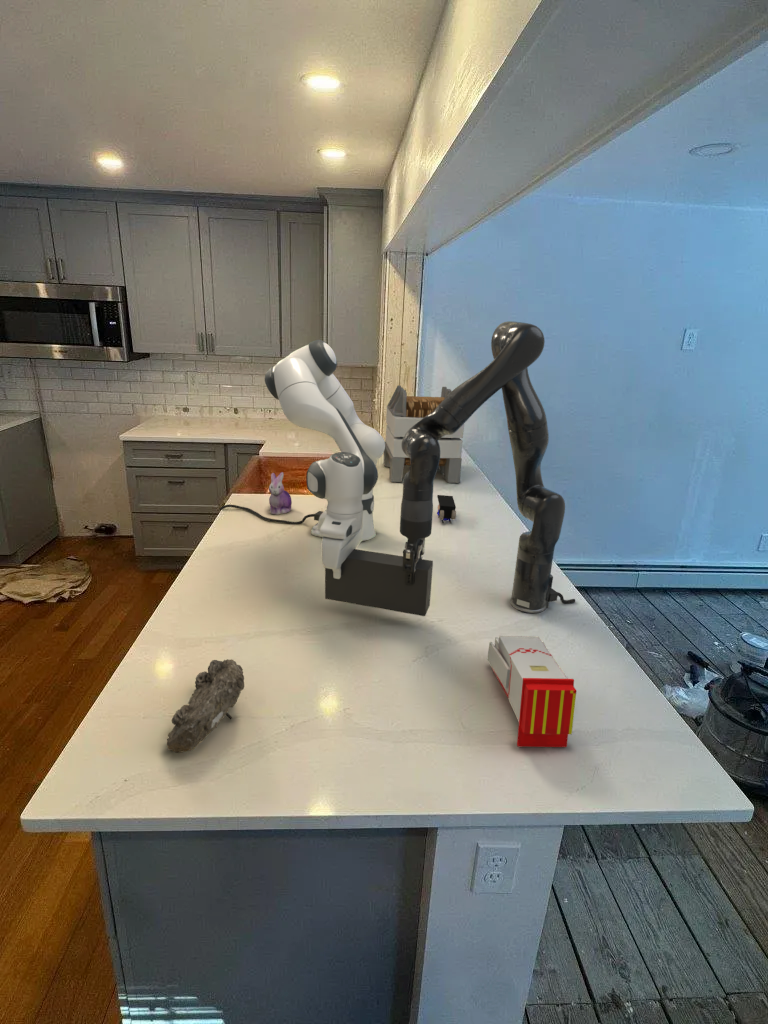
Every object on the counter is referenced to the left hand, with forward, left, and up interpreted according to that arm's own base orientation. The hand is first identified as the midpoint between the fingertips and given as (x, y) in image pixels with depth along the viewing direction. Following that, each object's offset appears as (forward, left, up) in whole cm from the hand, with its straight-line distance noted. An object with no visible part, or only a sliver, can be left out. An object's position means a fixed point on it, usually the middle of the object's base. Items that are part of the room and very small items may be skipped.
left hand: (343, 570), depth 144 cm
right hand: (+18, 0, +1) cm, 18 cm away
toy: (+47, -21, -12) cm, 53 cm away
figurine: (-48, +63, -12) cm, 80 cm away
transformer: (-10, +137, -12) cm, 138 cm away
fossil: (-10, -46, -12) cm, 49 cm away
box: (+9, 0, -7) cm, 12 cm away
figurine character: (+13, +79, -12) cm, 81 cm away
